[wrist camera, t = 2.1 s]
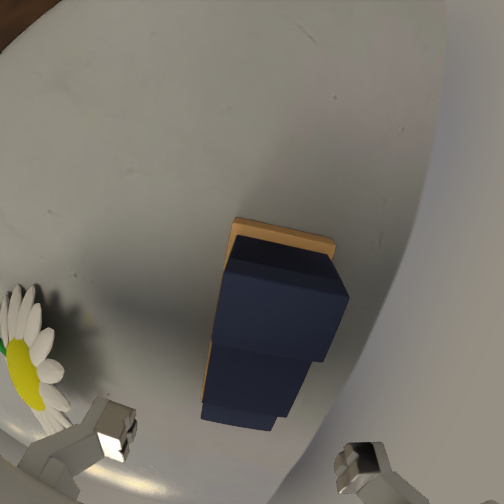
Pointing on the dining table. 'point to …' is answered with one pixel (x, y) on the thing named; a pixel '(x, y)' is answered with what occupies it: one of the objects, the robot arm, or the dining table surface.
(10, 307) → the decorative flower
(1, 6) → the brown wooden stand
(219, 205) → the dining table surface
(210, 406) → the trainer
